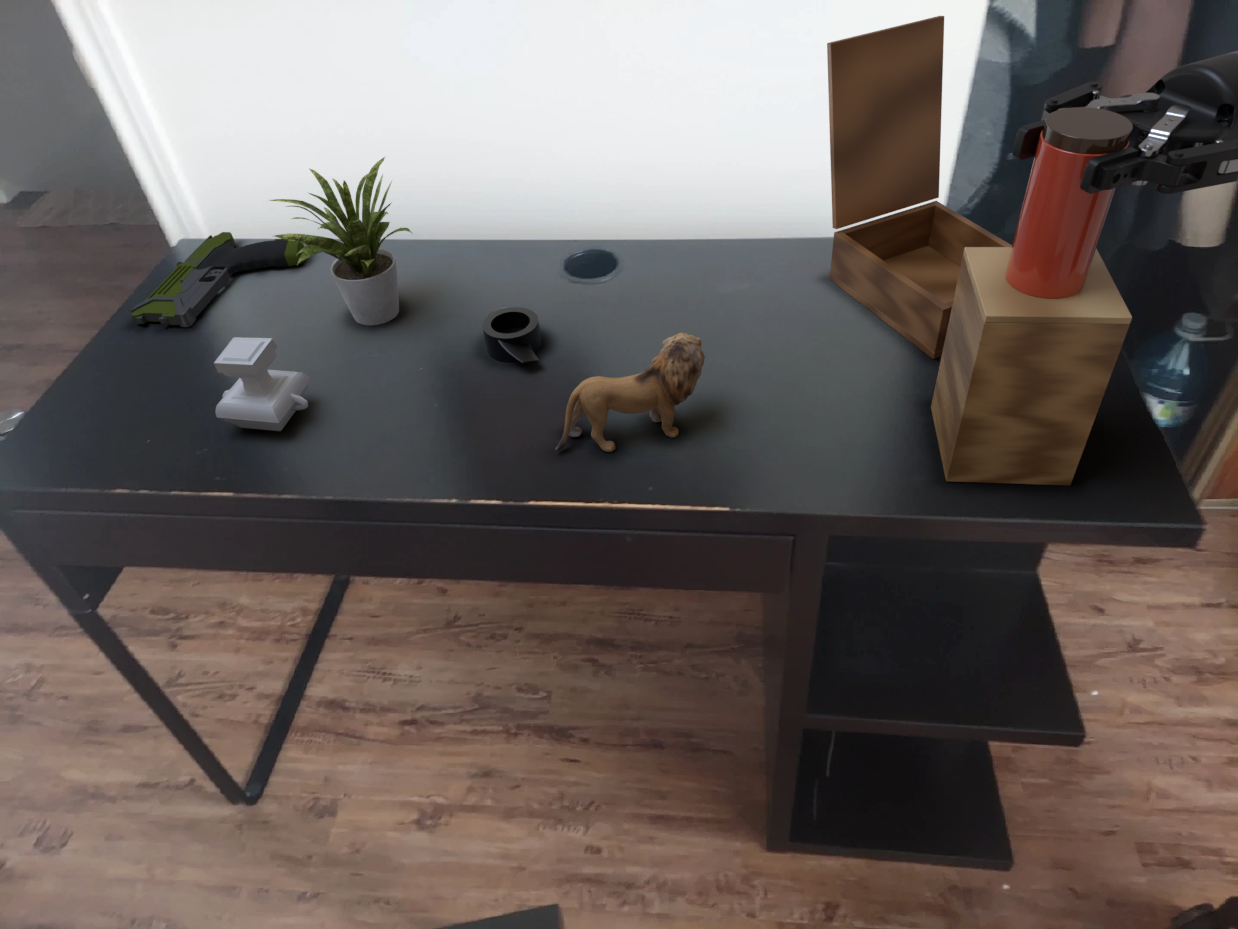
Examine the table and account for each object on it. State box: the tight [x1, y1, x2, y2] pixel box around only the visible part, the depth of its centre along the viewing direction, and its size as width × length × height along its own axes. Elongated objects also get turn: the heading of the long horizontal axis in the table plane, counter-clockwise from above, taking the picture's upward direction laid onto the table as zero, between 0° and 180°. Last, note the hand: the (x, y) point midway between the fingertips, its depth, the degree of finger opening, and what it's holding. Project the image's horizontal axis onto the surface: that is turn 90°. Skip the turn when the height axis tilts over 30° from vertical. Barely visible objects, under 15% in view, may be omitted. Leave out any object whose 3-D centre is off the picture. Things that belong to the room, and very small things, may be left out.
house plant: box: [269, 156, 414, 326], centre depth 99 cm, size 14×14×16 cm
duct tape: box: [481, 305, 542, 364], centre depth 96 cm, size 8×10×3 cm
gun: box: [130, 231, 306, 328], centre depth 109 cm, size 2×19×15 cm
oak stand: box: [930, 254, 1131, 486], centre depth 75 cm, size 10×10×16 cm
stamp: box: [213, 336, 311, 432], centre depth 87 cm, size 9×7×8 cm
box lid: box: [826, 15, 945, 230], centre depth 97 cm, size 18×14×4 cm
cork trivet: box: [964, 247, 1133, 324], centre depth 70 cm, size 10×10×1 cm
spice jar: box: [1005, 107, 1133, 299], centre depth 65 cm, size 6×6×12 cm
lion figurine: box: [554, 332, 706, 453], centre depth 82 cm, size 15×5×9 cm, turn 112°
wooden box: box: [829, 200, 1013, 360], centre depth 96 cm, size 18×14×6 cm
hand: (1052, 159), depth 62 cm, fingers closed on spice jar, 5 cm apart
